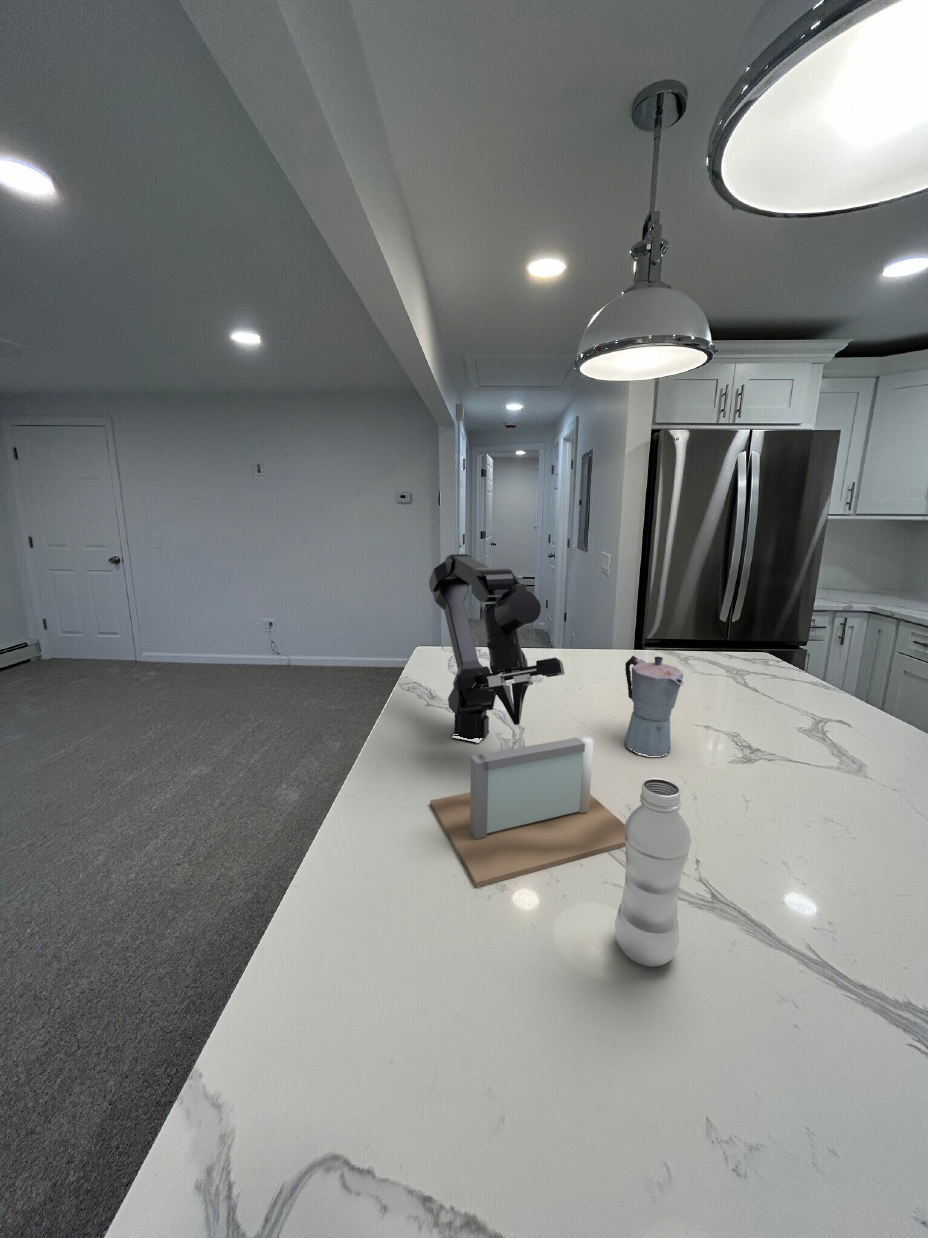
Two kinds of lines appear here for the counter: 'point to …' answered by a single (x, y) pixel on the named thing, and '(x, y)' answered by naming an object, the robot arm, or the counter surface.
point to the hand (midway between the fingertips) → (517, 724)
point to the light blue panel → (529, 784)
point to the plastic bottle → (653, 875)
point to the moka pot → (651, 705)
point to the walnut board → (527, 840)
